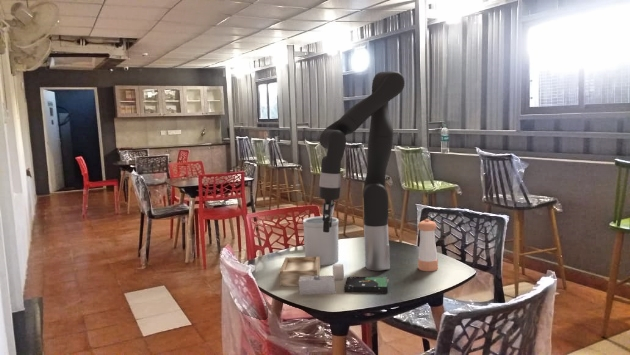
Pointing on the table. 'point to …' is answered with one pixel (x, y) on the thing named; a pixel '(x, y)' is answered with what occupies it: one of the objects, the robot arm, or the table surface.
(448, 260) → the table surface
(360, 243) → the table surface
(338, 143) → the robot arm
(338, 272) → the spool
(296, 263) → the wooden tray
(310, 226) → the utensil holder
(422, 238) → the pepper shaker
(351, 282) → the disk drive
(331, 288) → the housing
